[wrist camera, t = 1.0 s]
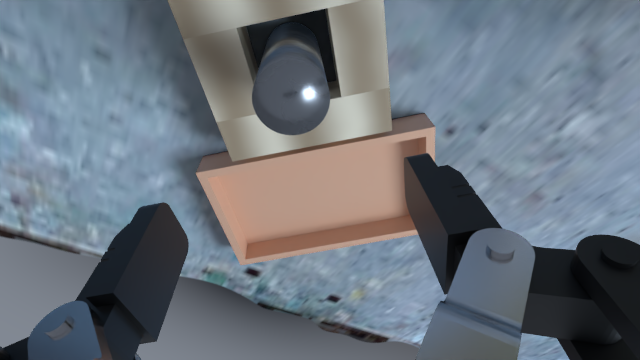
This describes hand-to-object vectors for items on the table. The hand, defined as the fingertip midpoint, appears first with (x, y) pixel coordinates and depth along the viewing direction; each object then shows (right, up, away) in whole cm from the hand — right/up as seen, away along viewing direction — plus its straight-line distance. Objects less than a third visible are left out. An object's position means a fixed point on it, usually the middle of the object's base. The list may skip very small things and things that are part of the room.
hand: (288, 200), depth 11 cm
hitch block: (-1, +12, +16) cm, 20 cm away
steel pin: (-1, +12, +16) cm, 20 cm away
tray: (+1, 0, +25) cm, 25 cm away
